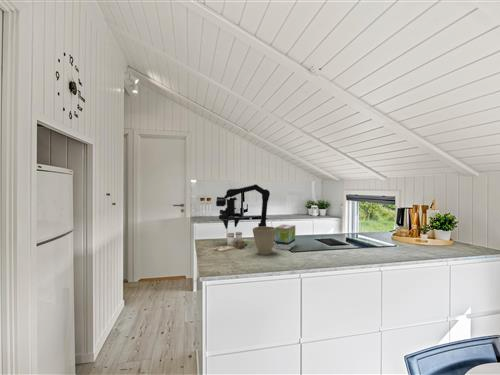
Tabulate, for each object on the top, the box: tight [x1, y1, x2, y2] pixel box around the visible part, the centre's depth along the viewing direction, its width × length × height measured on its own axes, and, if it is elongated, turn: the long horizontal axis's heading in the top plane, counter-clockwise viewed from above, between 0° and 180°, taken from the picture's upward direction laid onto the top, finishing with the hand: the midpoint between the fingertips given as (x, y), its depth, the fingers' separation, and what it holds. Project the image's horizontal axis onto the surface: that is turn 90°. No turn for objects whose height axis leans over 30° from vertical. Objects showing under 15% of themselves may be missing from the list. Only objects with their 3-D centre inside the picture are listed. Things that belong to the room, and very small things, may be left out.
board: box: [211, 245, 236, 253], centre depth 193 cm, size 10×12×1 cm
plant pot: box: [252, 226, 276, 256], centre depth 181 cm, size 15×15×16 cm
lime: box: [242, 238, 249, 246], centre depth 204 cm, size 4×4×4 cm
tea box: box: [274, 224, 296, 251], centre depth 197 cm, size 15×10×15 cm, turn 154°
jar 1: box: [226, 234, 235, 247], centre depth 201 cm, size 5×5×8 cm
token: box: [234, 239, 246, 250], centre depth 195 cm, size 4×4×5 cm
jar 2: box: [235, 231, 243, 241], centre depth 209 cm, size 5×5×8 cm
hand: (231, 227), depth 206 cm, fingers open, 9 cm apart
